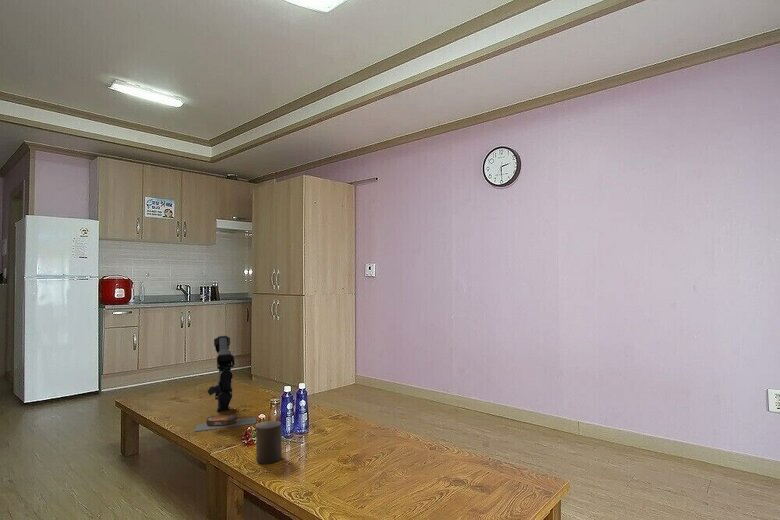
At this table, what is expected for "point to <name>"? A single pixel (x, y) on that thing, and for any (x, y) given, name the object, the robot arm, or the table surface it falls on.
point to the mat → (237, 423)
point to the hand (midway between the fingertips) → (226, 409)
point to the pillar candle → (268, 442)
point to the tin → (221, 420)
